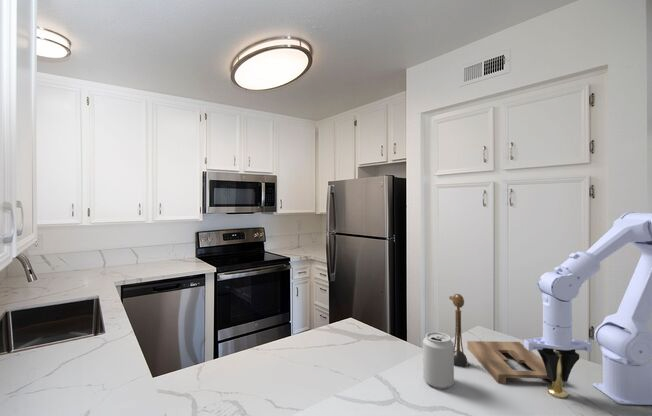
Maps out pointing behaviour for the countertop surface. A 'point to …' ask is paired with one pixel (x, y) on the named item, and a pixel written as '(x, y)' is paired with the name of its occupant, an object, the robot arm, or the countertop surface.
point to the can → (438, 360)
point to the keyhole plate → (497, 363)
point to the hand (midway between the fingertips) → (557, 379)
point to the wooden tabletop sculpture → (458, 332)
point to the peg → (558, 381)
